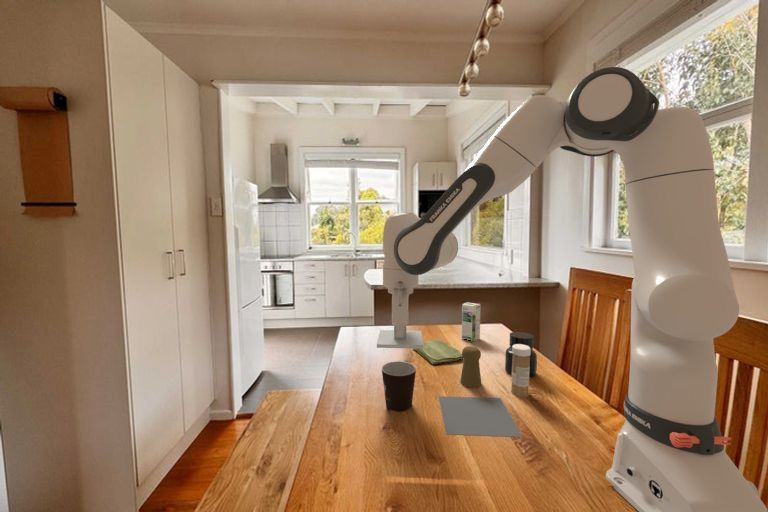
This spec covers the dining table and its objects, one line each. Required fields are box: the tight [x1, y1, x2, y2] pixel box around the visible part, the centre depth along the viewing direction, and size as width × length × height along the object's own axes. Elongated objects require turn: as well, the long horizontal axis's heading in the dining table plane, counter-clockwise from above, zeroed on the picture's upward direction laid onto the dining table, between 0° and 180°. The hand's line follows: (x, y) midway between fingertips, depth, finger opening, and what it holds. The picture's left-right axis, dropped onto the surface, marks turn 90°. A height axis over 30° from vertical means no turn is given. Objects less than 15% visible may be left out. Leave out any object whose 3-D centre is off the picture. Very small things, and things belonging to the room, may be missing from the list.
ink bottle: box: [504, 331, 538, 379], centre depth 101 cm, size 10×9×12 cm
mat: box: [438, 395, 523, 438], centre depth 77 cm, size 16×16×1 cm
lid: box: [376, 326, 424, 350], centre depth 82 cm, size 11×11×4 cm
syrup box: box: [460, 302, 482, 342], centre depth 132 cm, size 6×6×14 cm
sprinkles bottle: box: [510, 344, 531, 398], centre depth 87 cm, size 5×5×13 cm
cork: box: [459, 345, 482, 389], centre depth 93 cm, size 6×6×11 cm
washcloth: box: [412, 339, 464, 365], centre depth 116 cm, size 13×18×3 cm
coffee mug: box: [381, 360, 417, 413], centre depth 83 cm, size 12×9×10 cm
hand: (400, 333), depth 82 cm, fingers closed on lid, 3 cm apart
